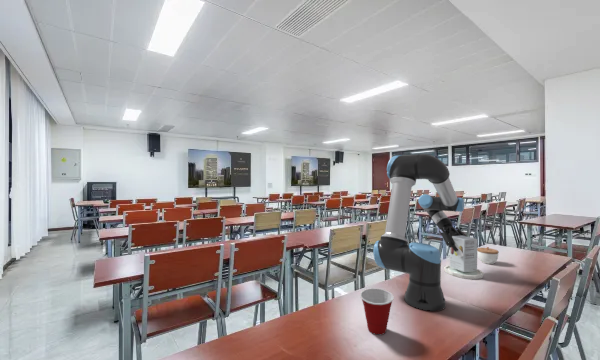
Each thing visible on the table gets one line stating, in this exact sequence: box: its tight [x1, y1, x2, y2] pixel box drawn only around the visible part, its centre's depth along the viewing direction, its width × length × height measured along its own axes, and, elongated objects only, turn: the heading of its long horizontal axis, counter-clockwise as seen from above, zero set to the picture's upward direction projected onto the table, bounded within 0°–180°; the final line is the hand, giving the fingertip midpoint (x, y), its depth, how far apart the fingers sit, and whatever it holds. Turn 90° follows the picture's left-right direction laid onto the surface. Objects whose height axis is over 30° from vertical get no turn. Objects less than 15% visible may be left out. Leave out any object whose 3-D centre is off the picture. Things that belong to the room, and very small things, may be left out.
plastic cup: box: [359, 287, 395, 335], centre depth 91 cm, size 11×11×12 cm
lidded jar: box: [477, 246, 499, 265], centre depth 166 cm, size 11×11×9 cm
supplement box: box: [449, 235, 478, 272], centre depth 147 cm, size 10×9×17 cm
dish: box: [443, 264, 485, 280], centre depth 147 cm, size 18×18×2 cm
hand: (468, 255), depth 144 cm, fingers closed on supplement box, 10 cm apart
